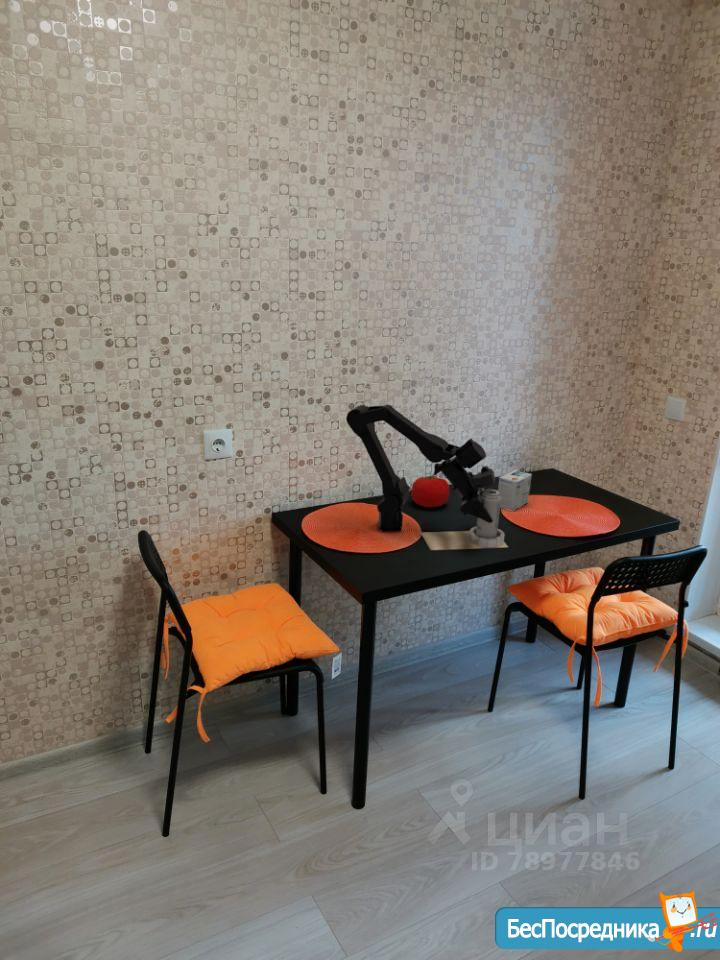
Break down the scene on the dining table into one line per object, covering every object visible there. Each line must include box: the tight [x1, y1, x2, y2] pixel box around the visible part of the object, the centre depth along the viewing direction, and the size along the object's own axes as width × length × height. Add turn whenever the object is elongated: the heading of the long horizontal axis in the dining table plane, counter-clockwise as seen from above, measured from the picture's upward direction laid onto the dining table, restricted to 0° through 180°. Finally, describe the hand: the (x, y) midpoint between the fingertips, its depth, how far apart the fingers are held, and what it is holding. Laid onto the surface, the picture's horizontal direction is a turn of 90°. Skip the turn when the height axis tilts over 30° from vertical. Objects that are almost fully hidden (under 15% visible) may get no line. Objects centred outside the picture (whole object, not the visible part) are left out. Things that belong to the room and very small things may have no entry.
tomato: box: [410, 474, 451, 508], centre depth 241 cm, size 11×13×10 cm
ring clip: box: [469, 526, 505, 549], centre depth 214 cm, size 10×10×2 cm
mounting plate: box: [420, 530, 509, 551], centre depth 215 cm, size 23×12×1 cm, turn 100°
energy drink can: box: [475, 488, 501, 538], centre depth 212 cm, size 6×6×15 cm
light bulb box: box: [497, 469, 533, 512], centre depth 243 cm, size 11×7×11 cm, turn 141°
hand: (492, 518), depth 212 cm, fingers closed on energy drink can, 6 cm apart
